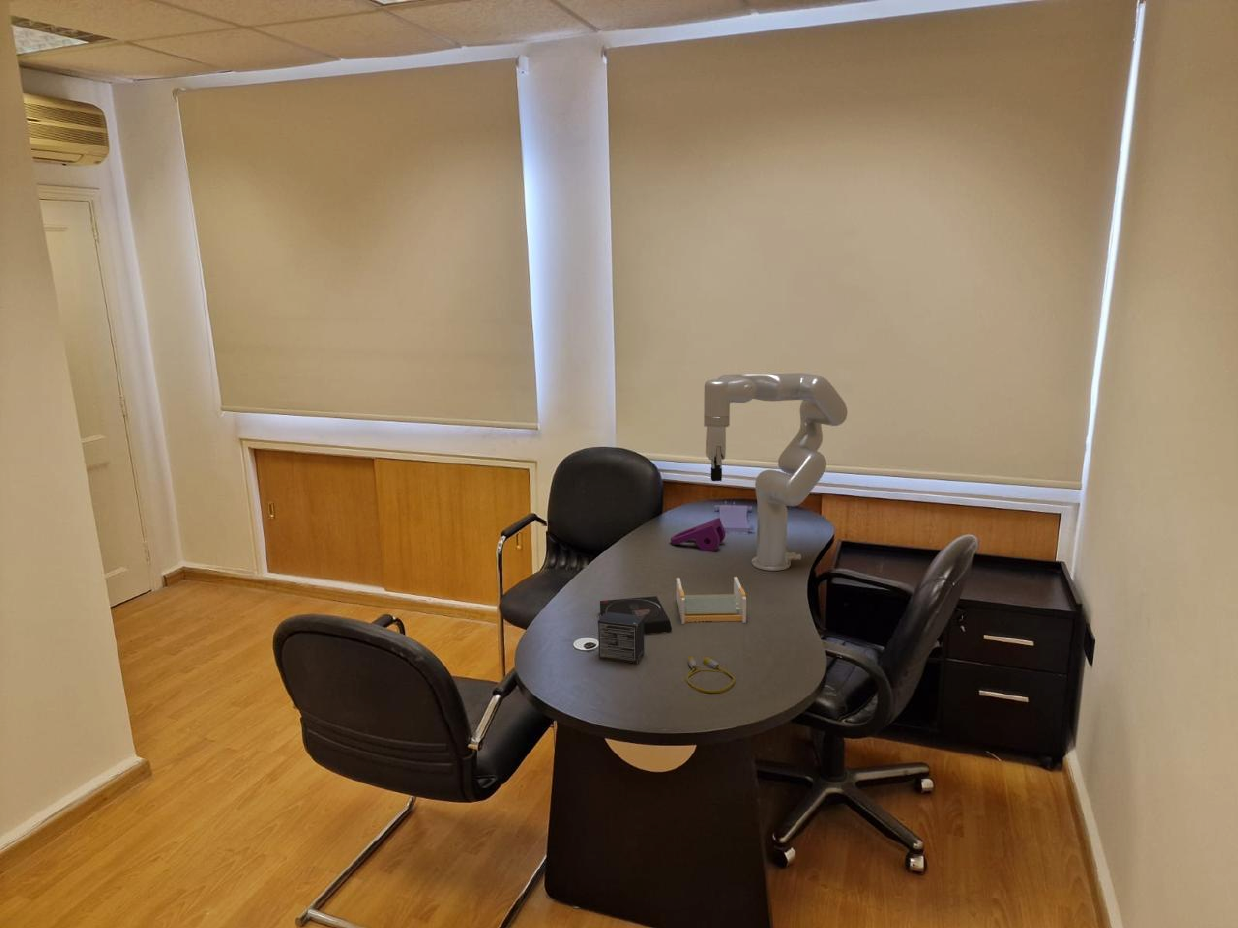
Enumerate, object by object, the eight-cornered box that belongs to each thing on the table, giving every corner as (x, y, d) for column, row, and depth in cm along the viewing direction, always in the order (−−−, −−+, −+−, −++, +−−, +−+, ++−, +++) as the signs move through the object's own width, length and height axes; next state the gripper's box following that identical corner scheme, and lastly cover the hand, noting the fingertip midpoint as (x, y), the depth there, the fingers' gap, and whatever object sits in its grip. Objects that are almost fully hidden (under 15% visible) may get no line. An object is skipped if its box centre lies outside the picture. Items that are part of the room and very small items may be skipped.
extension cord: (737, 665, 198) (737, 657, 198) (732, 697, 184) (733, 689, 183) (688, 661, 201) (688, 653, 201) (679, 692, 186) (679, 685, 186)
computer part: (751, 511, 323) (714, 510, 325) (752, 501, 322) (714, 500, 324) (754, 535, 295) (713, 534, 297) (754, 524, 294) (713, 523, 296)
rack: (736, 599, 237) (737, 575, 235) (746, 622, 221) (746, 596, 219) (676, 600, 236) (676, 576, 235) (681, 623, 221) (681, 598, 219)
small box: (645, 653, 205) (645, 614, 202) (638, 664, 199) (637, 625, 196) (606, 647, 208) (605, 609, 206) (597, 658, 202) (596, 620, 200)
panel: (734, 615, 226) (734, 594, 224) (735, 619, 224) (736, 597, 222) (684, 616, 226) (684, 595, 224) (685, 620, 224) (685, 598, 222)
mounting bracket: (676, 563, 283) (721, 548, 275) (666, 542, 283) (711, 525, 275) (685, 554, 291) (729, 539, 283) (675, 533, 291) (719, 517, 283)
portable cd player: (672, 633, 216) (672, 619, 215) (609, 639, 214) (609, 625, 213) (658, 608, 232) (658, 595, 231) (600, 614, 229) (599, 600, 228)
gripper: (701, 416, 248) (701, 474, 252) (707, 426, 233) (706, 487, 237) (725, 416, 248) (725, 474, 252) (733, 425, 233) (732, 486, 237)
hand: (716, 480), depth 245 cm, fingers closed
